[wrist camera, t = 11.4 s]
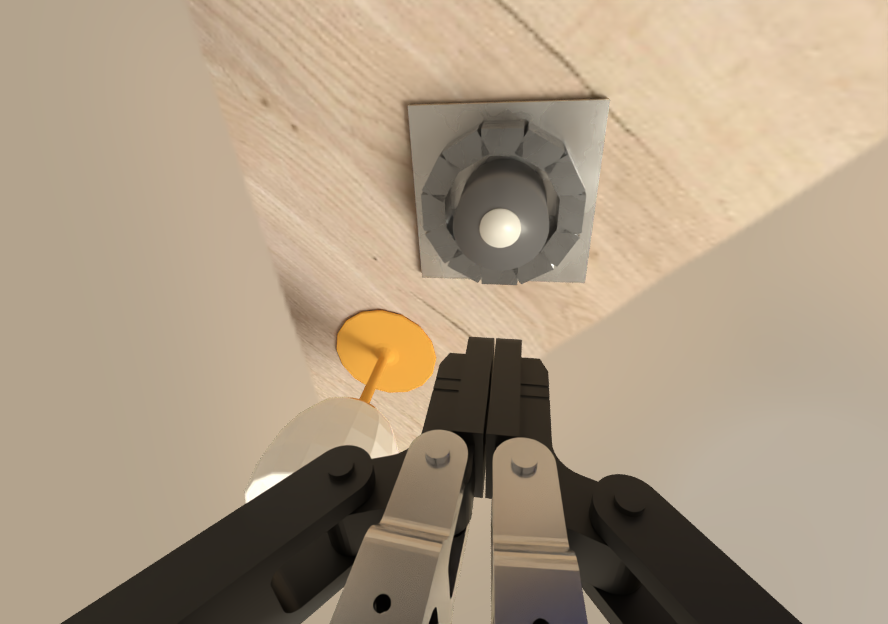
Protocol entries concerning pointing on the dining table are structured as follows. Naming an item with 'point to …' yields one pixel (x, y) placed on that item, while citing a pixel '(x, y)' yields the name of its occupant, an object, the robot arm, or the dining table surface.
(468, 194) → the cap
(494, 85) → the dining table surface
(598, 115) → the segmented ring on plate
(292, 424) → the cup
